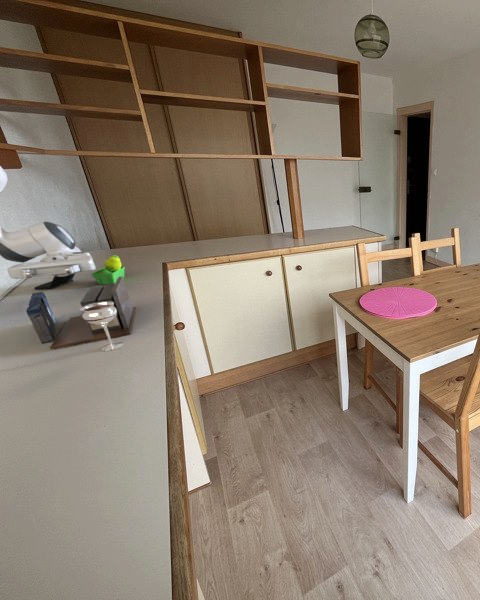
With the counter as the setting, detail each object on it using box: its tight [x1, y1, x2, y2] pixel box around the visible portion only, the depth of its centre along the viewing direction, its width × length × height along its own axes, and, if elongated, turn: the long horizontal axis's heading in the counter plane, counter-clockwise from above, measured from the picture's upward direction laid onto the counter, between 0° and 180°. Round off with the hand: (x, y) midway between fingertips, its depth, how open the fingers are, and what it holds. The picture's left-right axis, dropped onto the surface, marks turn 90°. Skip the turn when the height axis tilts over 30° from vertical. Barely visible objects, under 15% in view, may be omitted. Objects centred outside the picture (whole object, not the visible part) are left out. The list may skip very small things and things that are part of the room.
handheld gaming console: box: [33, 273, 76, 290], centre depth 129 cm, size 12×7×10 cm
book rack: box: [50, 276, 138, 351], centre depth 94 cm, size 16×22×13 cm
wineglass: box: [79, 301, 125, 352], centre depth 83 cm, size 7×7×12 cm
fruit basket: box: [91, 254, 126, 286], centre depth 134 cm, size 11×9×11 cm
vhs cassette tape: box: [26, 291, 57, 344], centre depth 91 cm, size 18×3×10 cm, turn 43°
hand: (48, 273), depth 101 cm, fingers open, 8 cm apart
